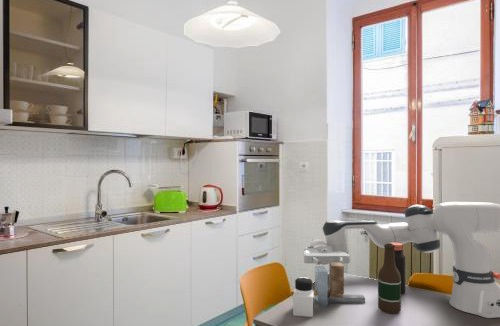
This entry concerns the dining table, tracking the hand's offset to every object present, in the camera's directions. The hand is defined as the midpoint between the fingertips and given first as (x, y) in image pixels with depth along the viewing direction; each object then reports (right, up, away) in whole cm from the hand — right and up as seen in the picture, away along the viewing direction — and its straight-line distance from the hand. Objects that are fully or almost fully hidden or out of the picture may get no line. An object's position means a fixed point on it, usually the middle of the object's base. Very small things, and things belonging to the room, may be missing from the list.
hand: (329, 262), depth 143 cm
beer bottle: (+17, -12, -20) cm, 29 cm away
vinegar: (+27, -12, -3) cm, 30 cm away
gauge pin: (-8, -9, -12) cm, 17 cm away
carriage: (-2, -9, -12) cm, 15 cm away
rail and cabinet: (+1, -11, -13) cm, 18 cm away
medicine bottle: (-14, -12, -22) cm, 28 cm away
